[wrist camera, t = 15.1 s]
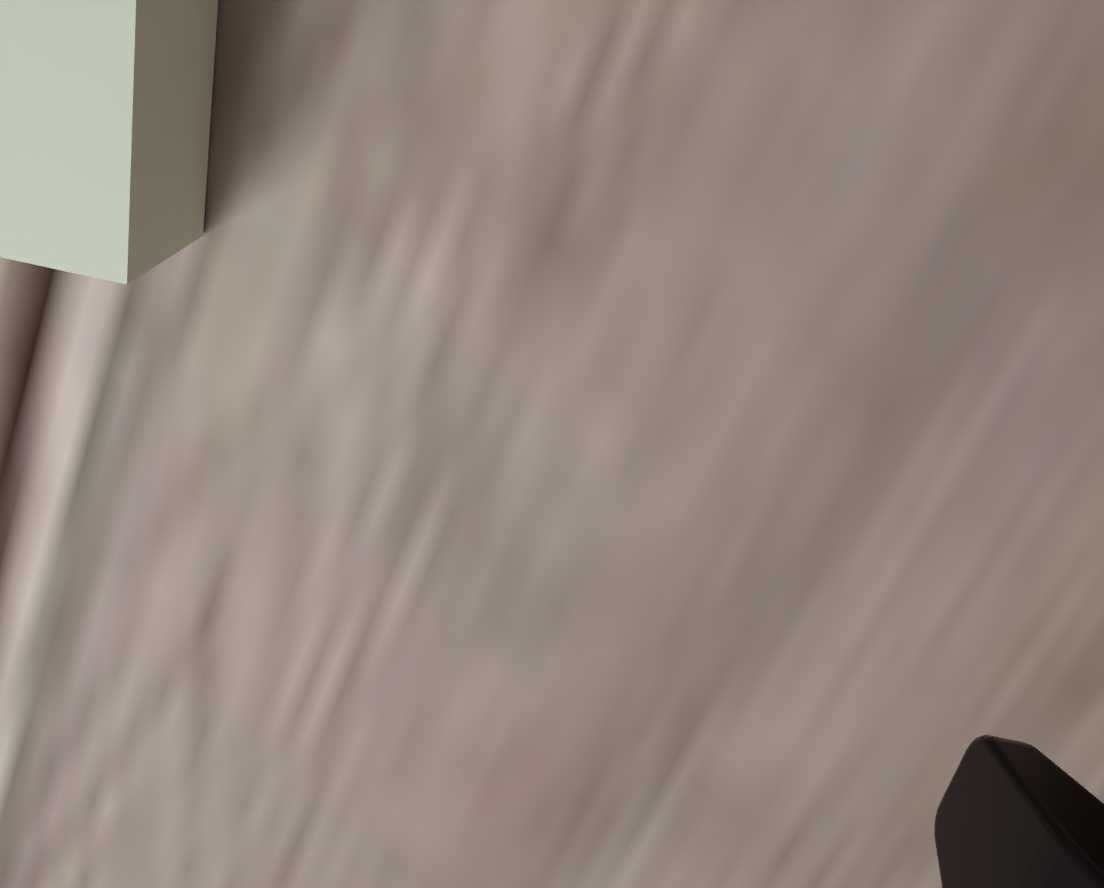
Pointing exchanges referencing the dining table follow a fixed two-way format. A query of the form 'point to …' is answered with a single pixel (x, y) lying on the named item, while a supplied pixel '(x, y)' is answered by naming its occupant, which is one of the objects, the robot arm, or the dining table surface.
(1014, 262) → the dining table surface
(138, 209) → the socket block
